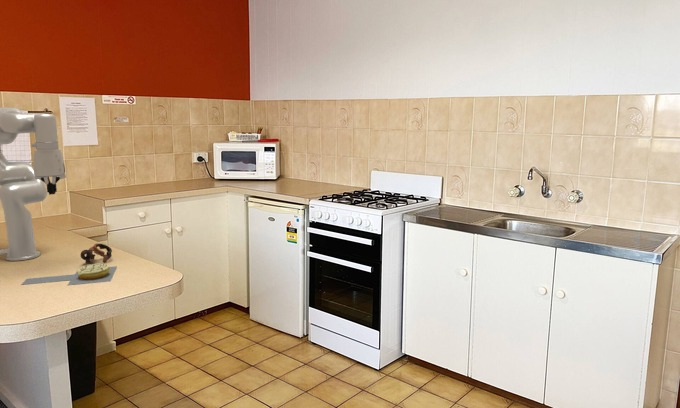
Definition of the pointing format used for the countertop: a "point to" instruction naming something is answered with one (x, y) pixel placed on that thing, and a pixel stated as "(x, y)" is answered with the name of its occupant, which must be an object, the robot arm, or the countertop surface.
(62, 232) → the countertop surface
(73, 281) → the t mat
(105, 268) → the decorated donut
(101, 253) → the pottery mug
